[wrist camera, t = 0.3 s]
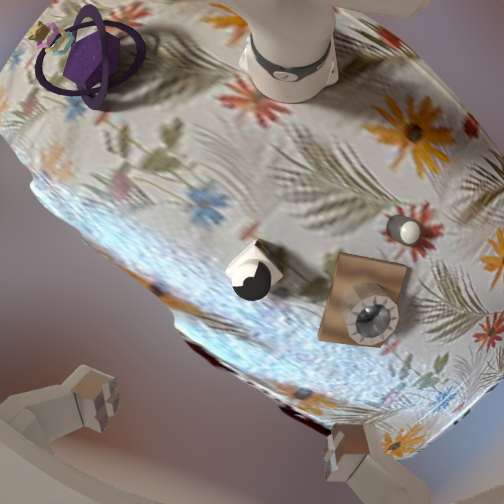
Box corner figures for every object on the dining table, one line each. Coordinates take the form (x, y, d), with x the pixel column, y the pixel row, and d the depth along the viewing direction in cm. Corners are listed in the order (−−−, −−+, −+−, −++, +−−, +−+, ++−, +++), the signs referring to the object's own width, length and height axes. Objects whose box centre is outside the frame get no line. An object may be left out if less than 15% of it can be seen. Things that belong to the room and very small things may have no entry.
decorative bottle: (59, 75, 50) (-11, 52, 26) (119, 14, 45) (62, -33, 21) (96, 130, 53) (13, 115, 28) (166, 61, 48) (105, 5, 24)
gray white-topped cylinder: (389, 212, 52) (401, 215, 46) (411, 217, 51) (424, 221, 45) (384, 237, 53) (395, 243, 47) (405, 242, 52) (418, 248, 47)
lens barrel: (347, 278, 53) (356, 292, 46) (391, 286, 52) (405, 299, 45) (334, 324, 55) (340, 342, 48) (377, 329, 54) (388, 346, 48)
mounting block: (338, 252, 54) (341, 255, 52) (402, 264, 53) (407, 267, 51) (317, 334, 59) (318, 340, 56) (377, 342, 58) (380, 347, 55)
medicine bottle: (283, 264, 56) (284, 286, 44) (255, 288, 57) (249, 314, 46) (257, 237, 55) (252, 252, 43) (230, 261, 57) (218, 282, 45)
